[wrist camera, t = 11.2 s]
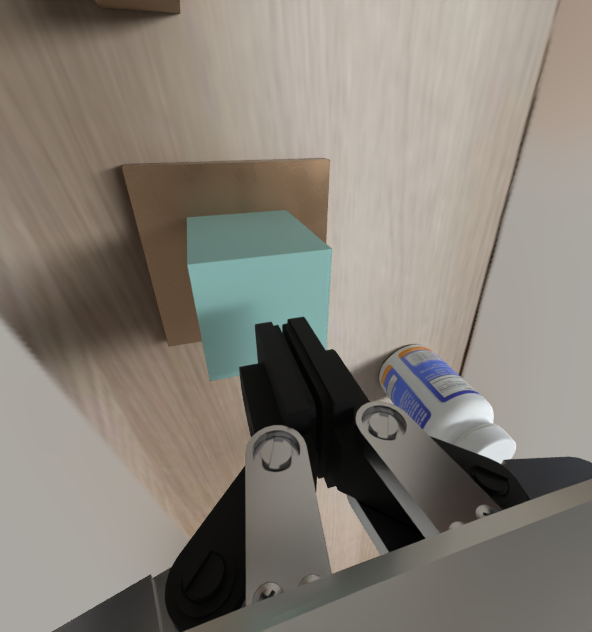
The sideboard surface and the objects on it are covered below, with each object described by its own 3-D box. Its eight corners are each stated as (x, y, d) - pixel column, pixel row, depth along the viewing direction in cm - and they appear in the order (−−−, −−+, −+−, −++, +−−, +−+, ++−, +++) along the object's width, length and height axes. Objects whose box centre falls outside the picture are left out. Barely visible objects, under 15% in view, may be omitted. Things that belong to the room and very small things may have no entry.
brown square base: (125, 164, 15) (87, 188, 9) (323, 158, 17) (390, 174, 12) (169, 337, 20) (162, 422, 14) (317, 314, 23) (362, 378, 17)
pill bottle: (398, 398, 30) (474, 496, 22) (365, 376, 27) (439, 480, 19) (441, 358, 29) (537, 446, 21) (411, 331, 26) (509, 422, 18)
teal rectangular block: (186, 217, 16) (187, 264, 11) (286, 209, 17) (332, 248, 12) (203, 306, 19) (210, 381, 13) (288, 295, 20) (326, 358, 15)
